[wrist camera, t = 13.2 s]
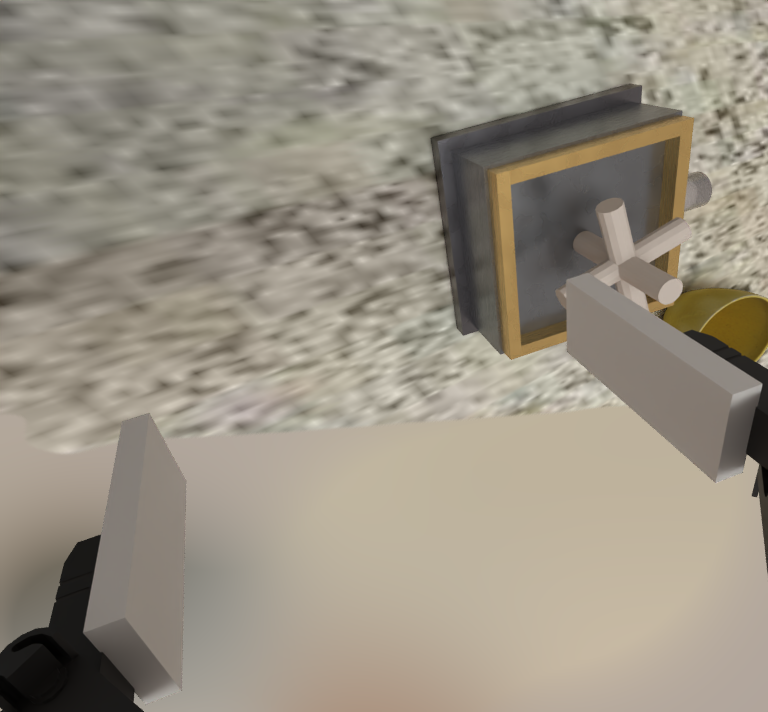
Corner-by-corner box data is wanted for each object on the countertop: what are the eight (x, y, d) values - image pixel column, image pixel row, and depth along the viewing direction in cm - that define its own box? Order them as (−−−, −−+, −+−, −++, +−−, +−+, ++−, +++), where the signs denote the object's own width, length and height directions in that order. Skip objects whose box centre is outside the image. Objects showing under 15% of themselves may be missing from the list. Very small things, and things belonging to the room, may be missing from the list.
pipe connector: (625, 152, 42) (730, 184, 34) (648, 259, 48) (743, 309, 39) (509, 222, 42) (585, 271, 34) (546, 320, 48) (619, 383, 39)
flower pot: (661, 268, 58) (713, 296, 52) (736, 268, 61) (794, 294, 55) (630, 353, 63) (675, 387, 57) (701, 349, 66) (751, 381, 60)
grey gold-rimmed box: (430, 137, 45) (477, 160, 38) (671, 72, 48) (759, 81, 40) (457, 328, 55) (498, 376, 47) (655, 264, 58) (724, 300, 50)
